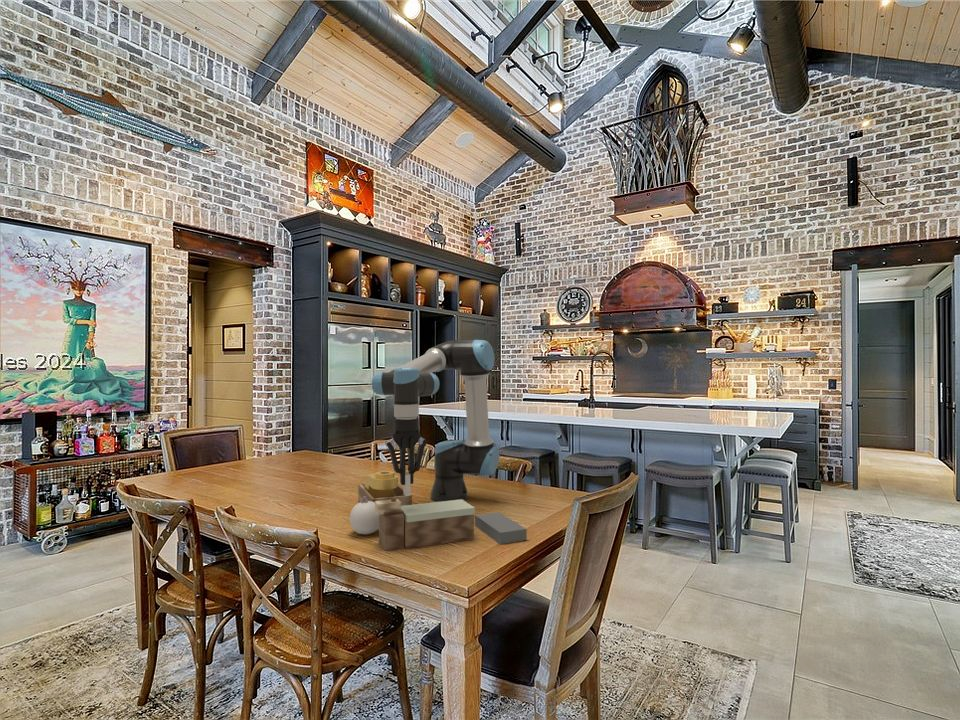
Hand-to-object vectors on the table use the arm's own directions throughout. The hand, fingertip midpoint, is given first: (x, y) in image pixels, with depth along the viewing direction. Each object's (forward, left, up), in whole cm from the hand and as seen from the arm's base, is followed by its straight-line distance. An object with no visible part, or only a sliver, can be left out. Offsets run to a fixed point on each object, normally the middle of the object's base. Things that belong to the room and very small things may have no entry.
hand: (406, 494), depth 156 cm
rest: (-30, +2, -15) cm, 34 cm away
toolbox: (-6, 0, -15) cm, 16 cm away
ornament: (+10, -14, -15) cm, 22 cm away
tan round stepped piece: (+1, -34, -15) cm, 37 cm away
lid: (-9, 0, -7) cm, 11 cm away
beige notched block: (+6, 0, -4) cm, 7 cm away
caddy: (0, -33, -15) cm, 36 cm away
